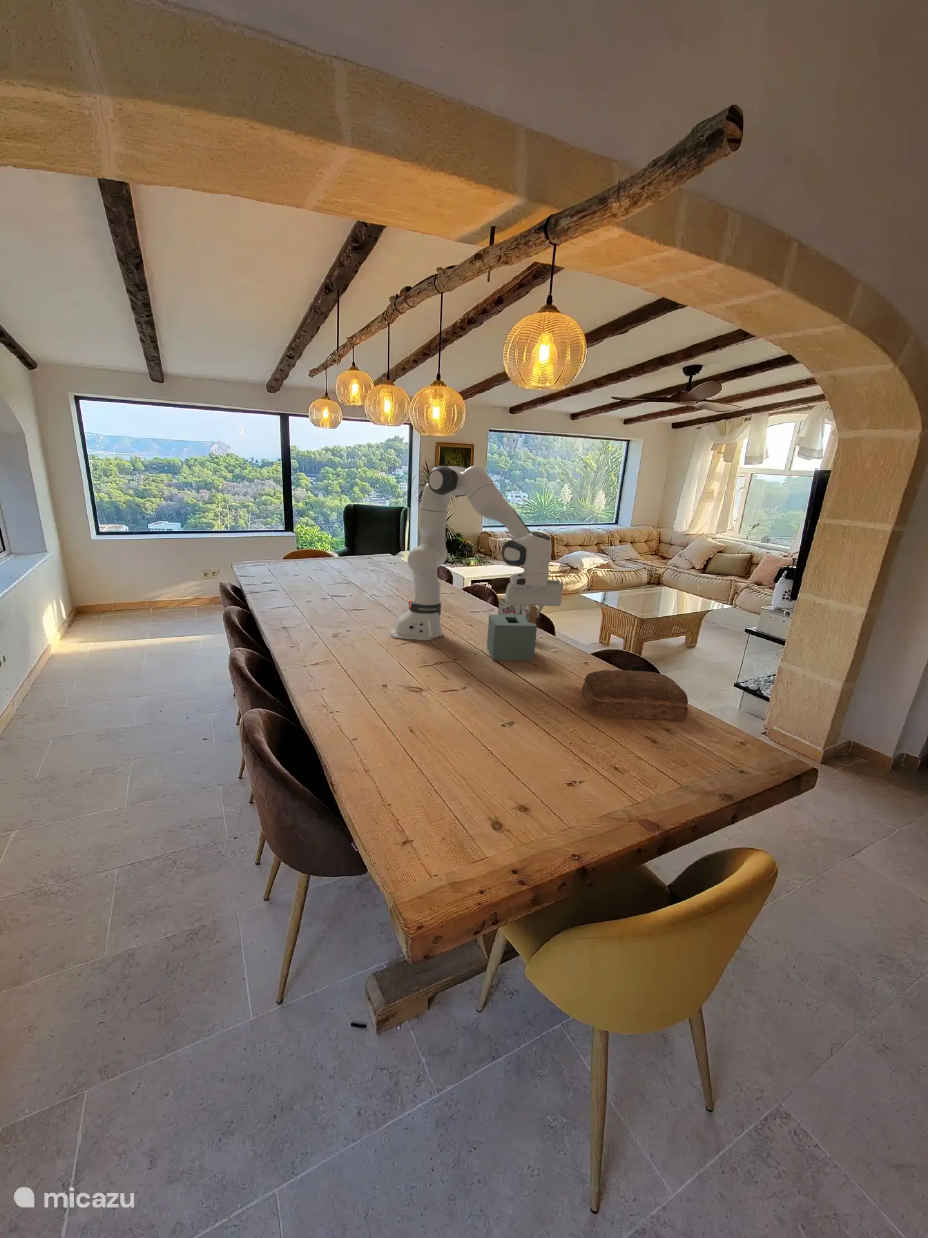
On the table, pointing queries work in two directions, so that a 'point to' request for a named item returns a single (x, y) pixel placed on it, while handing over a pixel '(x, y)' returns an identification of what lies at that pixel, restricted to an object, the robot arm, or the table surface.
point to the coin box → (511, 637)
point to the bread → (634, 695)
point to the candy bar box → (509, 608)
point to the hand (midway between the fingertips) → (531, 616)
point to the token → (532, 613)
